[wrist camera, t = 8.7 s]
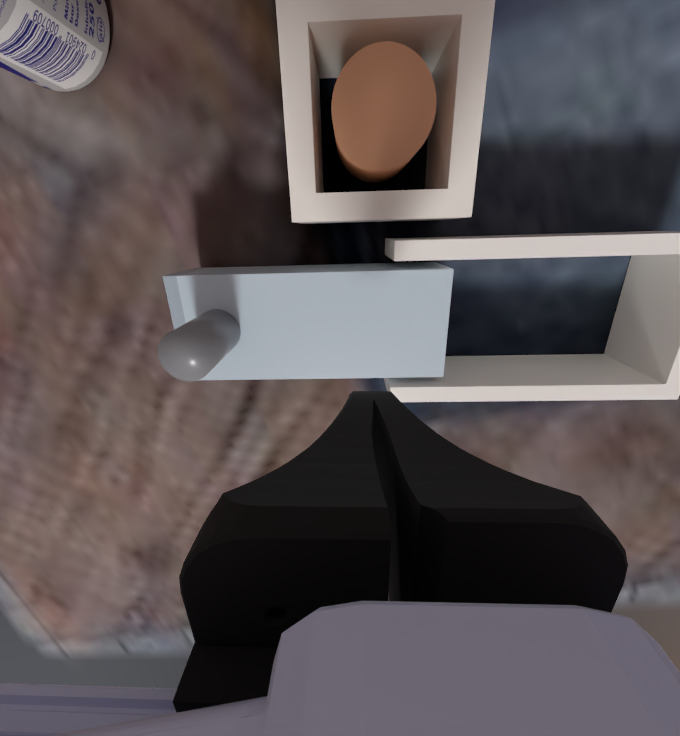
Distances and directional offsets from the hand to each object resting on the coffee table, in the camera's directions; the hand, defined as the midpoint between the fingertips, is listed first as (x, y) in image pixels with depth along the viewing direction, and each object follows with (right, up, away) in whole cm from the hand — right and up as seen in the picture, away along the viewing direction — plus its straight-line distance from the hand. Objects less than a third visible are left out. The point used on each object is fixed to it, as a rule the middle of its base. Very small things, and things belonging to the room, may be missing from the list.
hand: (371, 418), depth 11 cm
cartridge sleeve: (+8, +5, +8) cm, 12 cm away
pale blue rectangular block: (-2, +5, +8) cm, 10 cm away
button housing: (+1, +12, +5) cm, 13 cm away
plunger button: (+1, +12, +4) cm, 13 cm away
